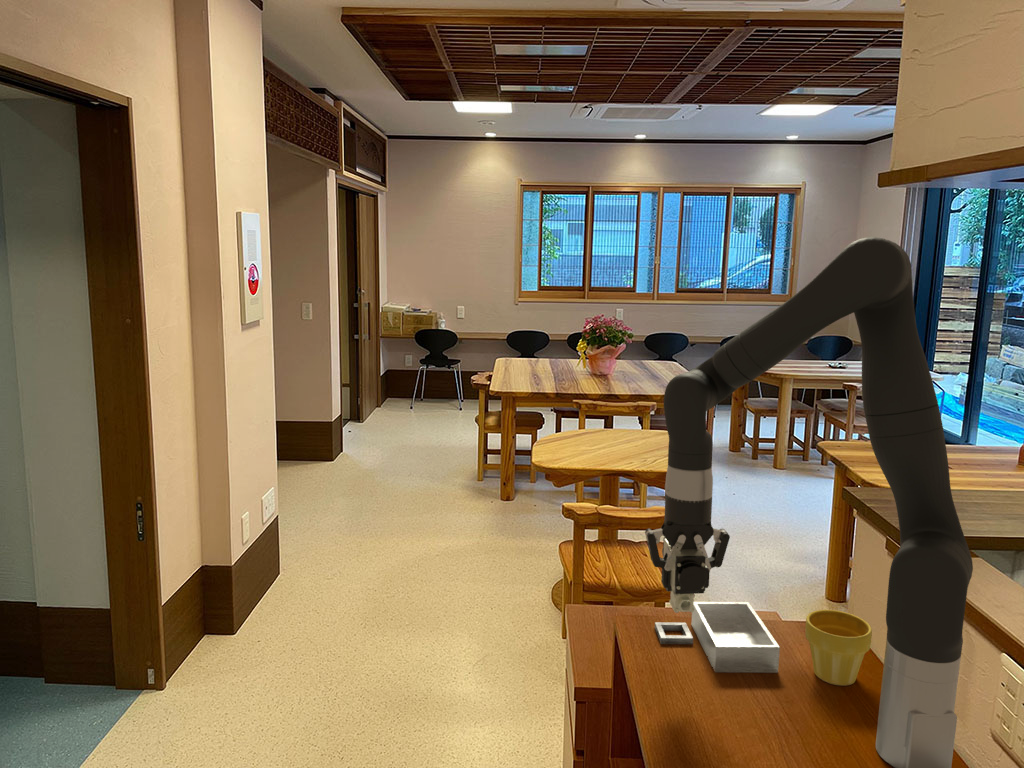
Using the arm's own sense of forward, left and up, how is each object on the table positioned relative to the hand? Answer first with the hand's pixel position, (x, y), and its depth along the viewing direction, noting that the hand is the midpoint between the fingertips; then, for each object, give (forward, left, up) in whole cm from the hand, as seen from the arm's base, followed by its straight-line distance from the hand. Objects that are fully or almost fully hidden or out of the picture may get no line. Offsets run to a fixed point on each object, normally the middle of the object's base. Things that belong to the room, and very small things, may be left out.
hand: (685, 589), depth 123 cm
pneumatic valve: (0, 0, -4) cm, 4 cm away
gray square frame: (+14, -2, -16) cm, 22 cm away
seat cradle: (+10, -12, -16) cm, 22 cm away
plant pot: (+1, -27, -16) cm, 32 cm away
